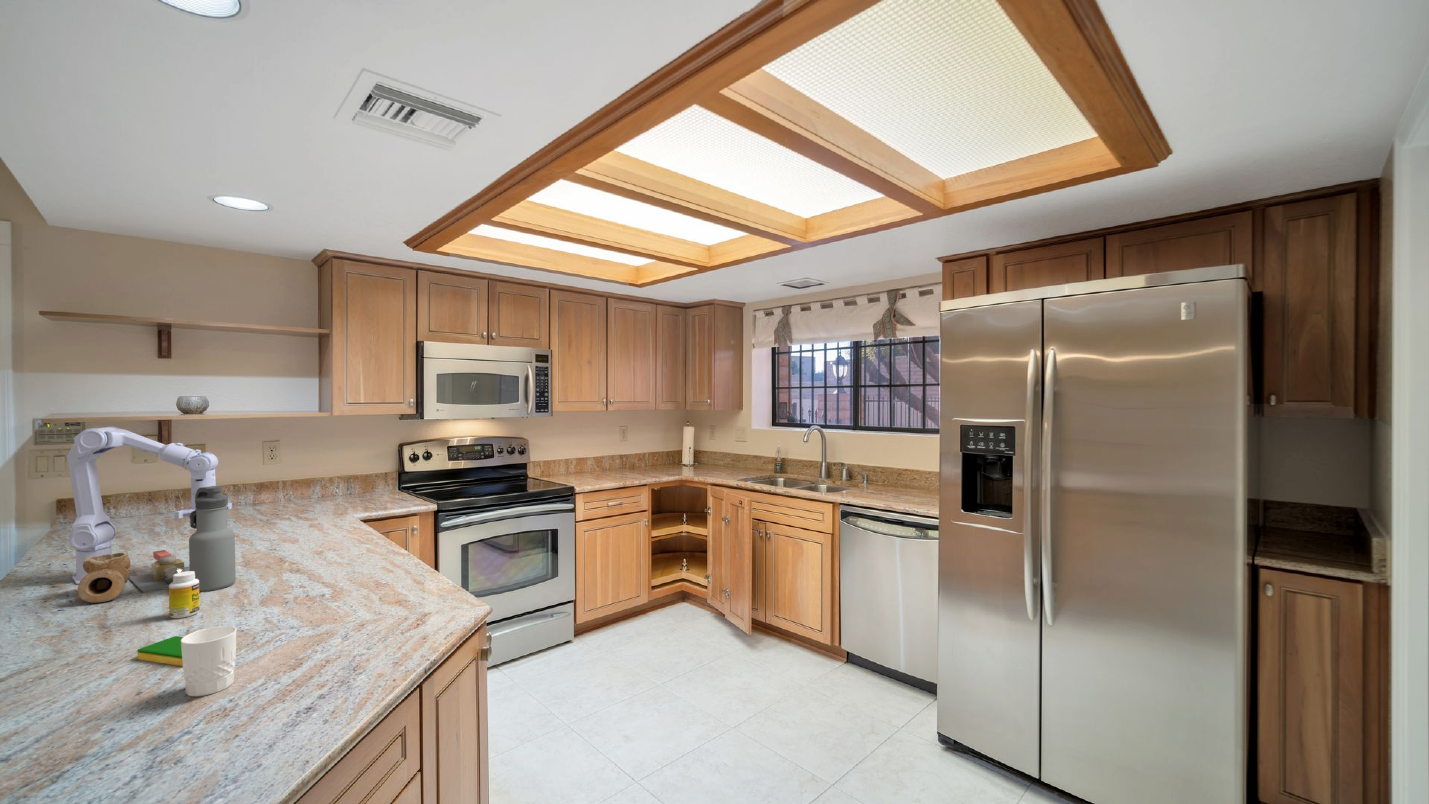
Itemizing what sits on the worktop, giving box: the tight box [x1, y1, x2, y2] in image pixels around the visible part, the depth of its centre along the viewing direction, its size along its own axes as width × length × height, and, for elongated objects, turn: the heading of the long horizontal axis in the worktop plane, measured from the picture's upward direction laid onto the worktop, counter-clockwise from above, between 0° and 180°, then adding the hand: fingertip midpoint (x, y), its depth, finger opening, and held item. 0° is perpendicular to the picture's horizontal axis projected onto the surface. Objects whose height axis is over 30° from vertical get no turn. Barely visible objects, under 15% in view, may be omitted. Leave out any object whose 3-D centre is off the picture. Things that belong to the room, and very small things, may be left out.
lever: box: [152, 549, 177, 564], centre depth 174 cm, size 12×4×2 cm, turn 54°
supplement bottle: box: [168, 571, 201, 619], centre depth 145 cm, size 6×6×10 cm
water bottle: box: [188, 485, 237, 593], centre depth 165 cm, size 10×10×28 cm
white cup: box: [181, 625, 238, 697], centre depth 110 cm, size 8×8×10 cm
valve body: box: [151, 558, 185, 585], centre depth 172 cm, size 16×6×5 cm, turn 53°
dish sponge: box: [136, 635, 184, 667], centre depth 123 cm, size 7×14×2 cm, turn 76°
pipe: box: [77, 552, 131, 604], centre depth 158 cm, size 9×16×10 cm, turn 40°
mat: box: [128, 565, 190, 594], centre depth 173 cm, size 20×17×1 cm
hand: (204, 537), depth 181 cm, fingers closed
